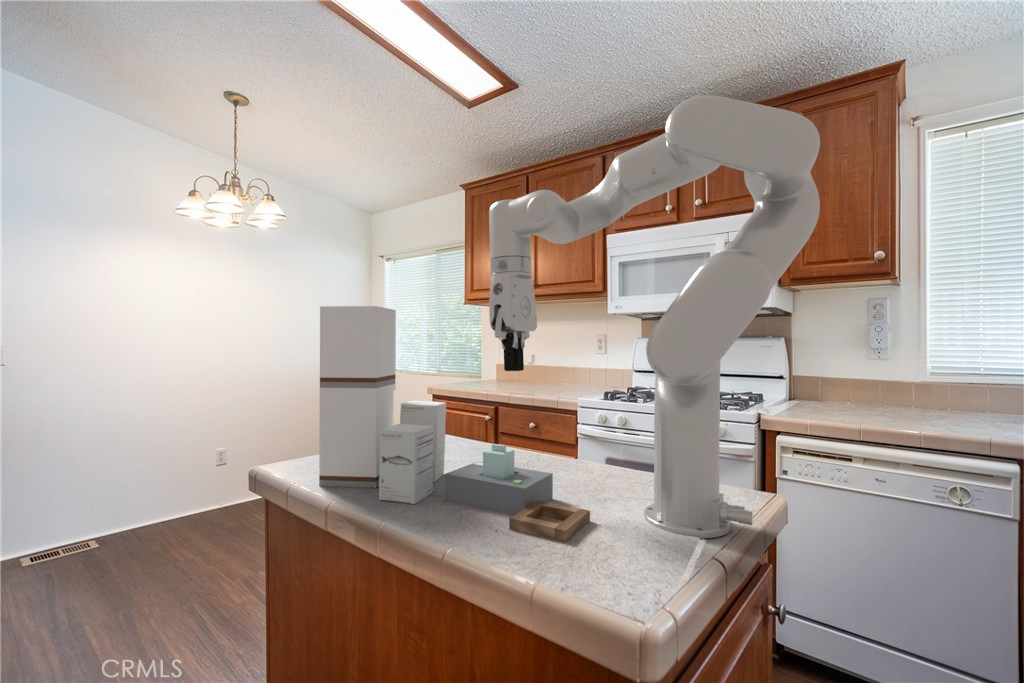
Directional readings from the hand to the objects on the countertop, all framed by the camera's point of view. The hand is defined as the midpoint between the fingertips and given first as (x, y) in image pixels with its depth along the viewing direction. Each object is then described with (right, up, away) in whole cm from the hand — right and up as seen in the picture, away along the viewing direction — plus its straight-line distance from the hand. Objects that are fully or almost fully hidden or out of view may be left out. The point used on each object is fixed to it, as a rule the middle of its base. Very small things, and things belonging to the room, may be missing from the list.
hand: (514, 370), depth 85 cm
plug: (-3, -22, -3) cm, 22 cm away
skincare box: (-19, -23, +12) cm, 32 cm away
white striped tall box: (-32, -23, +11) cm, 41 cm away
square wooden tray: (+5, -23, -15) cm, 28 cm away
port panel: (-3, -23, -3) cm, 23 cm away
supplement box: (-19, -23, 0) cm, 30 cm away
